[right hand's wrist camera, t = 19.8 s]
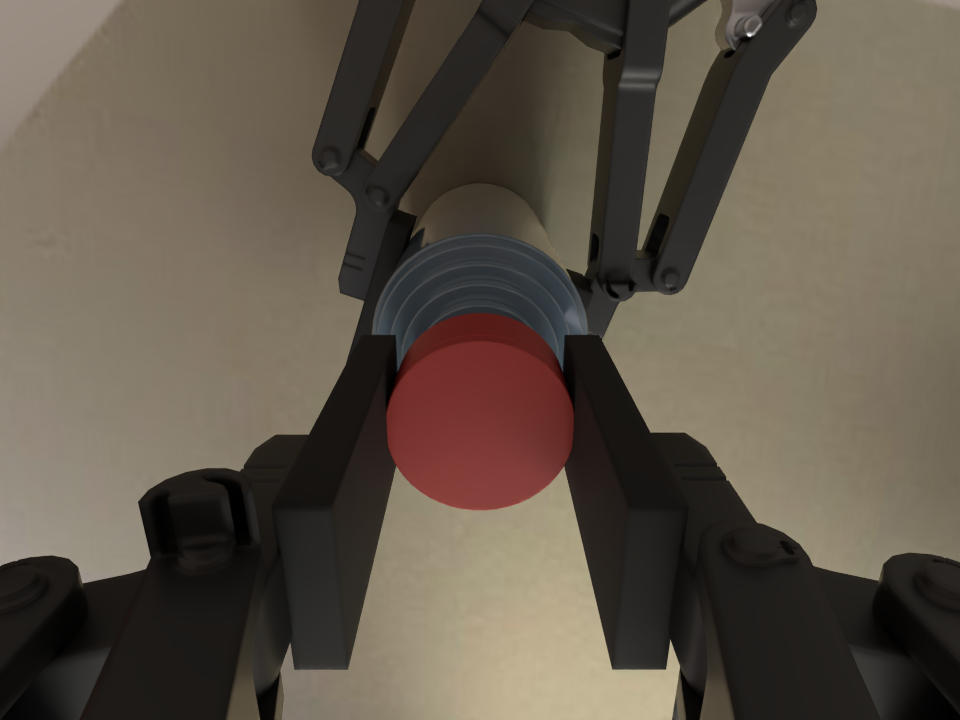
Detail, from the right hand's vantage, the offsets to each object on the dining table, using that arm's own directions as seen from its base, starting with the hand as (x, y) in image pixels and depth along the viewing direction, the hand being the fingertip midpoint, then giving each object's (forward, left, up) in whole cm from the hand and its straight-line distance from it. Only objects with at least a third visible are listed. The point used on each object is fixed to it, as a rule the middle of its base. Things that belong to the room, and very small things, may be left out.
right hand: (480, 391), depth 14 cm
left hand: (-2, +5, -10) cm, 11 cm away
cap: (0, 0, +2) cm, 2 cm away
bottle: (0, 0, -16) cm, 16 cm away
